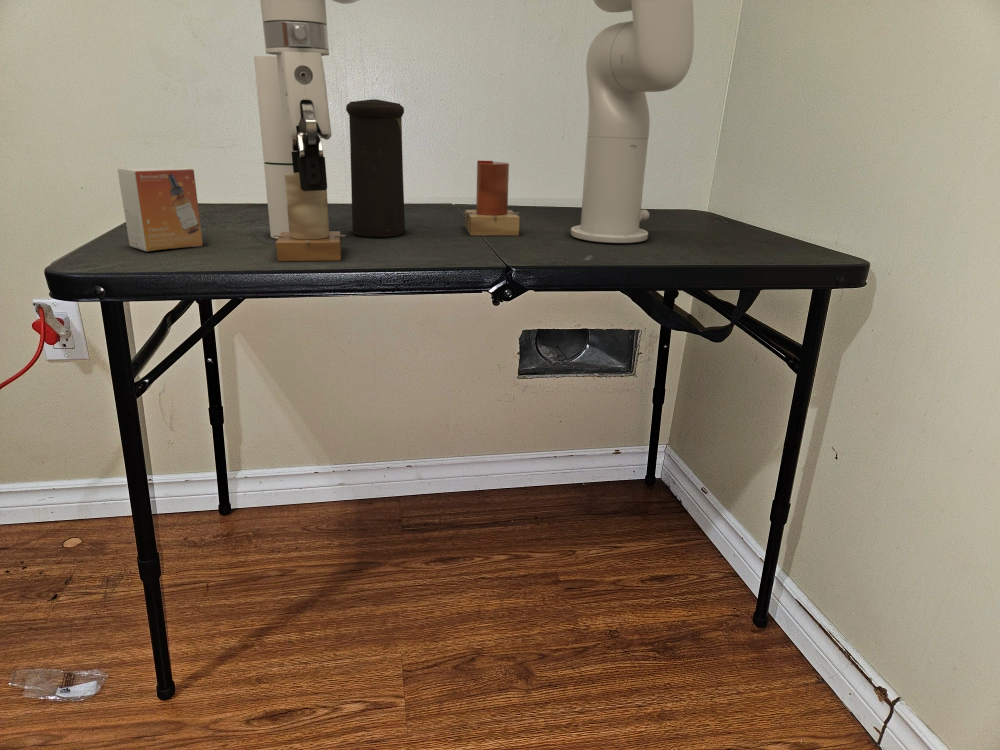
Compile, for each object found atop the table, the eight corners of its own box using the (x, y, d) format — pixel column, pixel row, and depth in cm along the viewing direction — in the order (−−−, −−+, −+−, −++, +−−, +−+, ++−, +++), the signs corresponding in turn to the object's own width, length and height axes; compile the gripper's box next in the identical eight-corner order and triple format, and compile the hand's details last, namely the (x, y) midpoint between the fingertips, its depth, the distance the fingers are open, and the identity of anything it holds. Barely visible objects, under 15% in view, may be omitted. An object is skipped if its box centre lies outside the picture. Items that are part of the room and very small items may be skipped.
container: (416, 232, 111) (415, 100, 104) (386, 240, 104) (381, 99, 97) (372, 227, 115) (368, 99, 107) (339, 234, 107) (332, 97, 100)
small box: (145, 253, 90) (132, 170, 86) (128, 246, 94) (115, 167, 90) (204, 246, 96) (194, 168, 92) (186, 240, 99) (176, 165, 95)
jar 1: (281, 237, 90) (275, 172, 87) (303, 231, 95) (298, 169, 91) (316, 240, 88) (311, 174, 85) (336, 234, 93) (333, 171, 90)
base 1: (278, 248, 96) (276, 229, 95) (346, 247, 98) (345, 229, 97) (271, 262, 87) (269, 241, 86) (346, 261, 89) (345, 241, 88)
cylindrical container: (324, 232, 108) (313, 60, 99) (308, 240, 102) (295, 56, 93) (281, 230, 109) (266, 59, 100) (262, 238, 102) (245, 55, 93)
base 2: (460, 226, 118) (460, 208, 117) (514, 226, 119) (514, 208, 118) (466, 236, 109) (466, 216, 108) (523, 236, 111) (524, 216, 110)
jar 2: (505, 210, 116) (506, 160, 113) (509, 215, 111) (511, 162, 108) (474, 210, 115) (475, 159, 112) (477, 215, 110) (478, 161, 107)
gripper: (337, 37, 77) (349, 193, 83) (320, 47, 92) (330, 178, 98) (268, 34, 74) (285, 195, 81) (261, 45, 89) (276, 180, 96)
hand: (310, 185), depth 89 cm, fingers open, 9 cm apart
